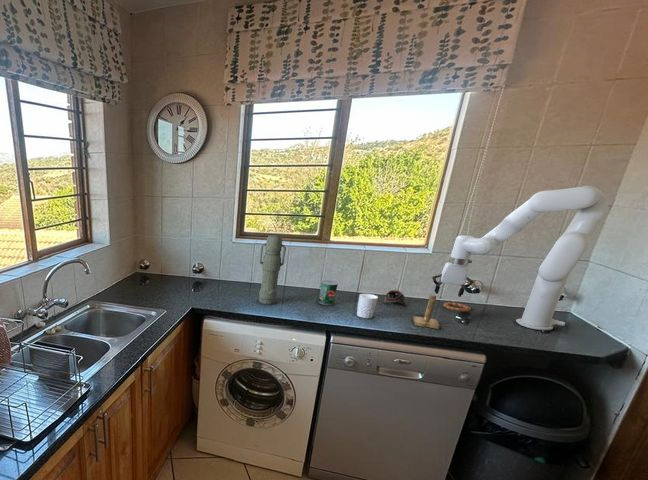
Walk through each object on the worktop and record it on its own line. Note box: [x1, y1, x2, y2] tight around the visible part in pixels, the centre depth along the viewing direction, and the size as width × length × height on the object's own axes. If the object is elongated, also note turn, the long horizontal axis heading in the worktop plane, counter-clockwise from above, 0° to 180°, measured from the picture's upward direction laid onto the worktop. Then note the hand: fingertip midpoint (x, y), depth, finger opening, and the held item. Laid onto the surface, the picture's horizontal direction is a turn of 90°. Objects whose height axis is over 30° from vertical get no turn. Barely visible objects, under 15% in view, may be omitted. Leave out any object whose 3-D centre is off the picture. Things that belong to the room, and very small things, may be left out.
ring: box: [442, 302, 472, 312], centre depth 203 cm, size 11×11×2 cm
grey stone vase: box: [258, 233, 287, 305], centre depth 206 cm, size 9×12×35 cm
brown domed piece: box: [383, 289, 406, 306], centre depth 210 cm, size 12×10×8 cm
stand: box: [412, 294, 440, 330], centre depth 181 cm, size 9×9×14 cm
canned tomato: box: [317, 280, 339, 306], centre depth 210 cm, size 8×8×11 cm
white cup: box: [356, 293, 379, 319], centre depth 191 cm, size 8×8×10 cm
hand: (447, 294), depth 203 cm, fingers open, 9 cm apart
